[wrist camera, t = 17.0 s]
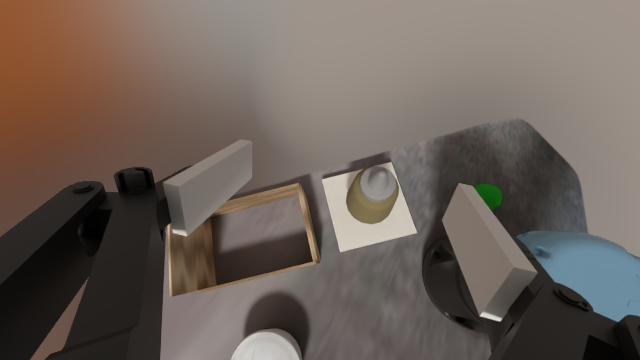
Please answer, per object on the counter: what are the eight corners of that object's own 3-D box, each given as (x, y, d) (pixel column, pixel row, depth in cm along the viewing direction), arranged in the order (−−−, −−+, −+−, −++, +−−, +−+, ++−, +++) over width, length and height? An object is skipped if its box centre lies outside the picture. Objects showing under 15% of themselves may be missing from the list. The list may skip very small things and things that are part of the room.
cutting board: (415, 233, 44) (417, 232, 42) (340, 252, 44) (340, 252, 43) (390, 164, 48) (391, 161, 47) (322, 181, 48) (321, 179, 47)
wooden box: (321, 262, 44) (313, 264, 32) (214, 288, 44) (169, 300, 32) (305, 191, 48) (293, 170, 36) (208, 215, 48) (166, 203, 37)
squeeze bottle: (391, 226, 43) (424, 206, 26) (346, 227, 44) (349, 209, 27) (386, 183, 46) (413, 139, 29) (344, 185, 46) (345, 143, 29)
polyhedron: (457, 195, 45) (470, 189, 40) (478, 182, 45) (493, 174, 41) (476, 218, 43) (492, 214, 39) (498, 204, 44) (516, 198, 39)
